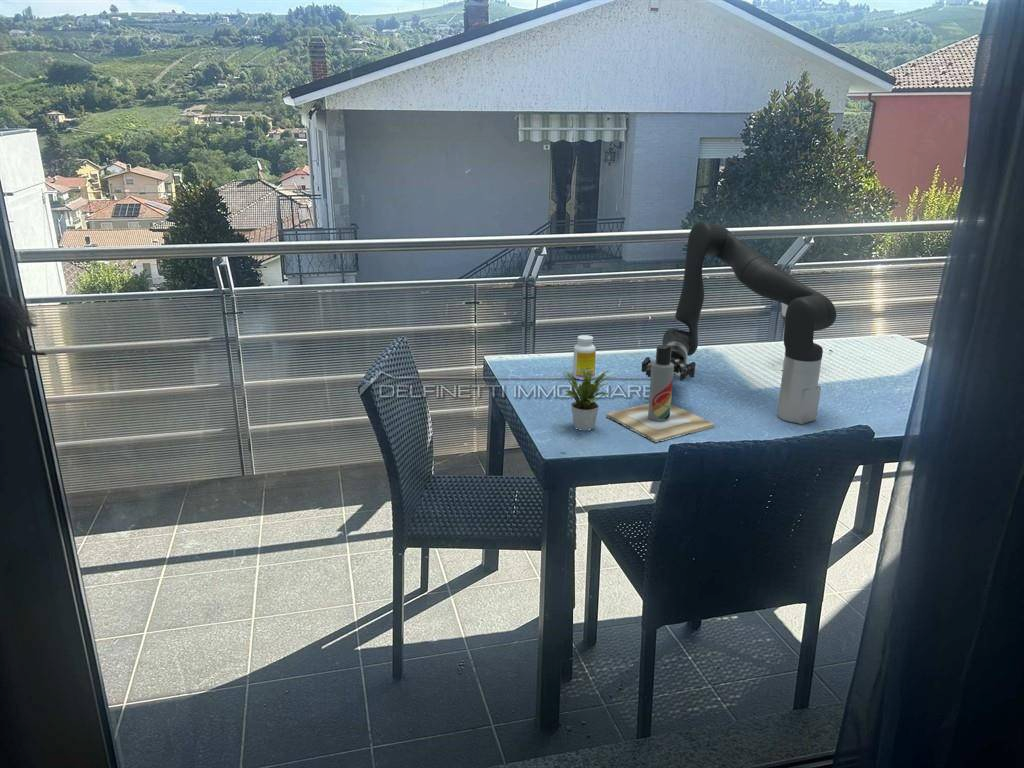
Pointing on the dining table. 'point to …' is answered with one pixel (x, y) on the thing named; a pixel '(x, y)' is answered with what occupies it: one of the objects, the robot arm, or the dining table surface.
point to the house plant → (585, 400)
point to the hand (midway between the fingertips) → (665, 375)
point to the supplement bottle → (584, 357)
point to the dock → (657, 430)
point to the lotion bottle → (661, 385)
